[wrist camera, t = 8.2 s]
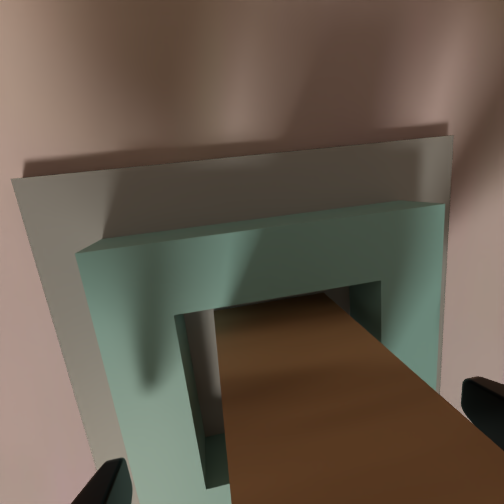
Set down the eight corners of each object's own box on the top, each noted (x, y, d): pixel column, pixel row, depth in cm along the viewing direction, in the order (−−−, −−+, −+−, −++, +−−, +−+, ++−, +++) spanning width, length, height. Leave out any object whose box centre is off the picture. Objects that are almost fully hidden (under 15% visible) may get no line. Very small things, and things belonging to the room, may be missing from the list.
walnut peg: (328, 386, 12) (577, 784, 4) (227, 408, 11) (287, 918, 3) (323, 292, 11) (641, 571, 3) (213, 311, 10) (252, 712, 2)
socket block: (428, 449, 14) (475, 504, 12) (121, 528, 12) (101, 614, 10) (442, 137, 11) (512, 123, 8) (21, 179, 9) (-48, 177, 6)
